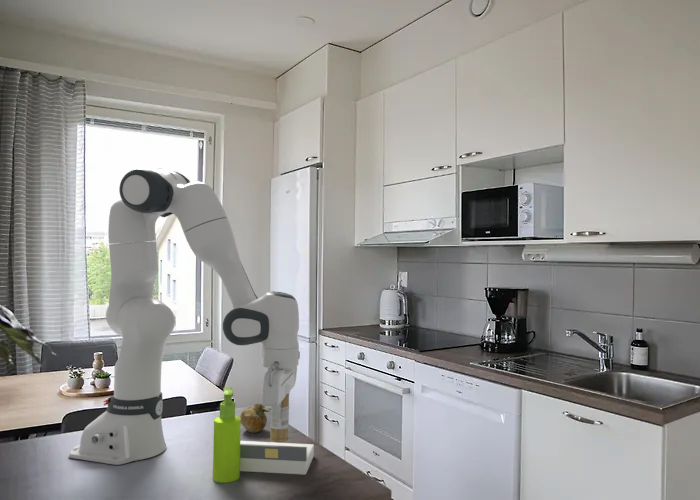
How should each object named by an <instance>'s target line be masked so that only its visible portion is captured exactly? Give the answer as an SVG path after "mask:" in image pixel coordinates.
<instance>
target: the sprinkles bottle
mask: <svg viewBox="0 0 700 500" xmlns="http://www.w3.org/2000/svg"><path fill="white" fill-rule="evenodd" d="M290 392H291V391H290V385H288V386H287V387H286V397H285V398H284V399H283V401H282V402H281V410H282V412H281V417H280V419H273V411H272V407H271V411H270V434H269V435H270V437H269V440H270V442H275V443H287V441H288V440H289V423H290V421H289V419H290Z"/></svg>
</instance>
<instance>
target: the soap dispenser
mask: <svg viewBox="0 0 700 500" xmlns="http://www.w3.org/2000/svg"><path fill="white" fill-rule="evenodd" d="M222 390H223V401H222V402H220V403H219V416H217V417H215V418H214V419H213V447H212V448H213V449H212V450H213V451H212V452H213V453H212V454H213V455H212V457H213V458H212V459H213V460H212V462H213V463H212V465H213V466H212V480H213V481H214V482H216V483H220V484H224V483H225V484H226V483H227V484H228V483H233V482H235V481H237V480H239V479H240V476H241V475H240V474H241V471H240V441H241V429H242V427H241V426H242V424H241V418H240V416H238V415H236V402H235V401H233V400H232V399H233V396H234V389H233V387H223V388H222Z"/></svg>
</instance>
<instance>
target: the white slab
mask: <svg viewBox="0 0 700 500" xmlns="http://www.w3.org/2000/svg"><path fill="white" fill-rule="evenodd" d="M314 448H315V445H314V444H313V443H312V444H311V443H291V442H282V443H276V442H272V441H254V440H252V441H251V440H240V472H252V473H253V472H255V473H272V474H286V475H287V474H288V475H307V472H308V470H309V468H310V466H311V465H312V464H311V463H312V461H313V459H314V454H315V449H314Z"/></svg>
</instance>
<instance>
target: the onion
mask: <svg viewBox="0 0 700 500" xmlns="http://www.w3.org/2000/svg"><path fill="white" fill-rule="evenodd" d="M266 413H271V407H268V406H264V405H263V403H256V404H254V405H253V406H250V407H248V408H246V409H243V411H242V412H241V413H240V416H239V417H240V418H241V426H242V427H243V428H244V429H245V430H246V431H247V432H249V433H254V434H257V433H259V432H261V431H263V430H265V428H266V425H267V422H268V418H267V415H266Z"/></svg>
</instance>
